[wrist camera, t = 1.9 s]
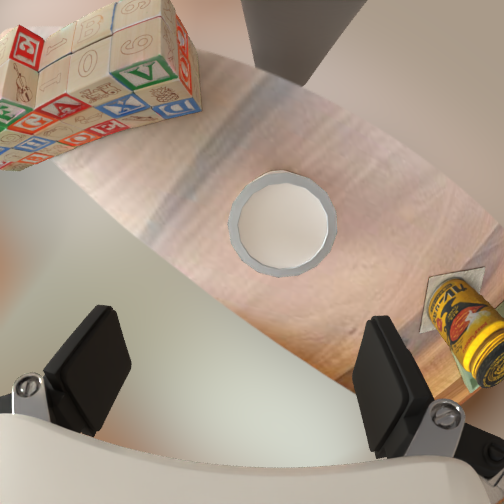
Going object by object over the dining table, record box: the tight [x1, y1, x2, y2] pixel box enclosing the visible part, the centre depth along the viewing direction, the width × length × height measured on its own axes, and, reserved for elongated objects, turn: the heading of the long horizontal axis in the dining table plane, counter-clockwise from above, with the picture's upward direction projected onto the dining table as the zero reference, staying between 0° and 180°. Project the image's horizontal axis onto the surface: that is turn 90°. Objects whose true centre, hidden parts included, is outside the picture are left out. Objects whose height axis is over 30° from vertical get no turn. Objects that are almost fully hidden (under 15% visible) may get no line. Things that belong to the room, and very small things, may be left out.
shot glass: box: [228, 170, 337, 278], centre depth 21 cm, size 7×7×7 cm
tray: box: [450, 301, 504, 393], centre depth 28 cm, size 11×11×2 cm
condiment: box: [420, 267, 504, 388], centre depth 21 cm, size 7×8×12 cm
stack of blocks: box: [0, 0, 202, 171], centre depth 15 cm, size 21×6×12 cm, turn 98°
